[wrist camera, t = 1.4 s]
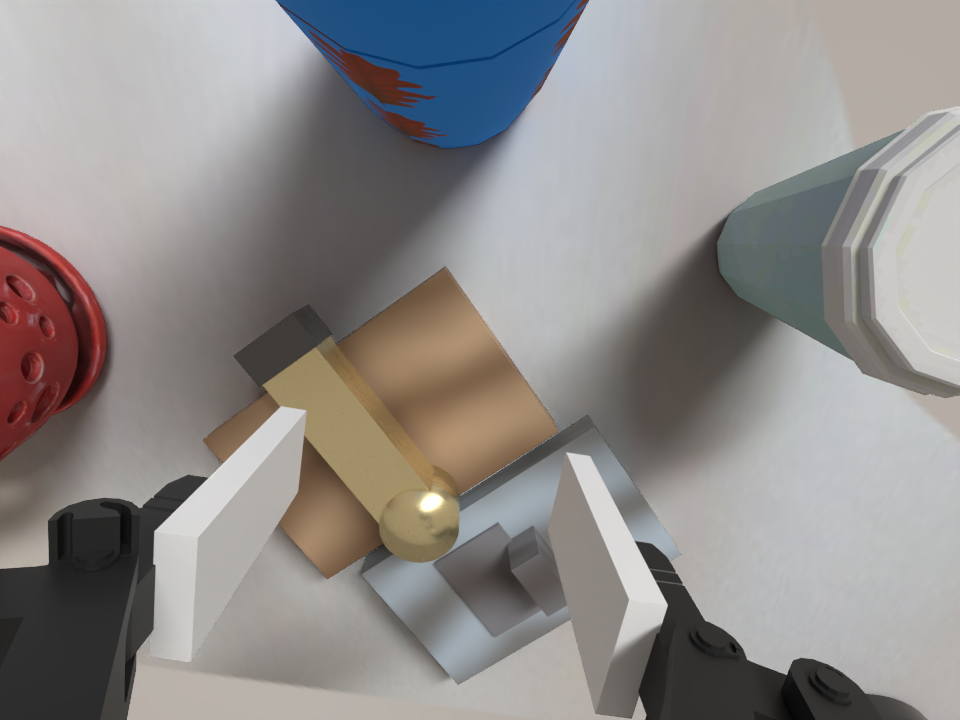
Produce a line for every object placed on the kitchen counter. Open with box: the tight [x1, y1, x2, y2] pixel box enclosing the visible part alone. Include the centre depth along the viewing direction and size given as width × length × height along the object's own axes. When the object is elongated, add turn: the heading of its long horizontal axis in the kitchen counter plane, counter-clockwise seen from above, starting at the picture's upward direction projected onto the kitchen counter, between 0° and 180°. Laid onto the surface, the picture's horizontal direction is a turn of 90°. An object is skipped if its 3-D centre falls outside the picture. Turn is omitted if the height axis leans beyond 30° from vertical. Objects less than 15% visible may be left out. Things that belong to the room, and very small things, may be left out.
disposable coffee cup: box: [717, 106, 960, 398], centre depth 24 cm, size 11×11×15 cm
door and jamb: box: [203, 266, 682, 685], centre depth 33 cm, size 24×20×5 cm
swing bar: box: [234, 305, 460, 563], centre depth 30 cm, size 15×4×3 cm, turn 35°
